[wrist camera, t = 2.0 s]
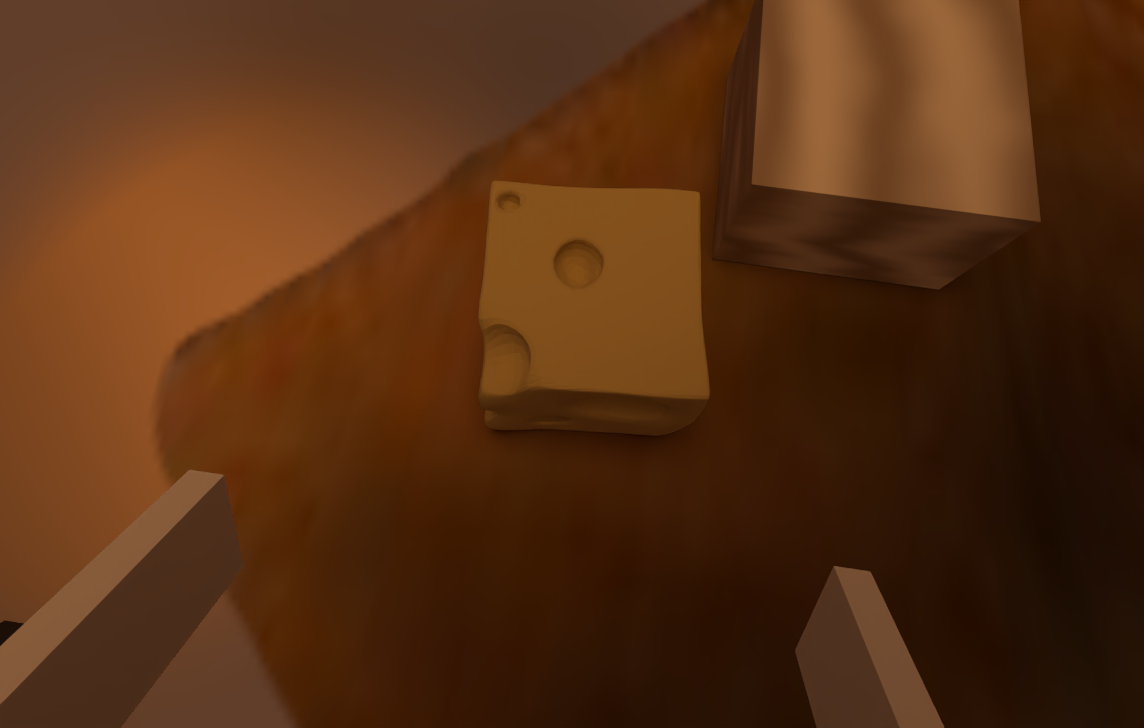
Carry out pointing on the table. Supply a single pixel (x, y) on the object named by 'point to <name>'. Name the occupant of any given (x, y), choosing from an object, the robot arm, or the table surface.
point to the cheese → (592, 310)
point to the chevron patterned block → (876, 139)
